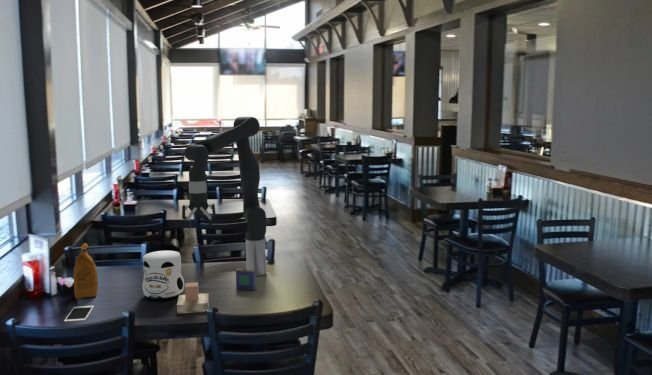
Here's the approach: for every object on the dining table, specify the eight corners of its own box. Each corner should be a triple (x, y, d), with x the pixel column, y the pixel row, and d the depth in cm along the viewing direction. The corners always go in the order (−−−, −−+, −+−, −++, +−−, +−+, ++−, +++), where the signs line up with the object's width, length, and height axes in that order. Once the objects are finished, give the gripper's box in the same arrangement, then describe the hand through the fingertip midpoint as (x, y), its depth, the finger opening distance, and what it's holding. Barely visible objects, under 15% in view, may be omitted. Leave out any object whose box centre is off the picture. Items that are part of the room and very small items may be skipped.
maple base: (208, 302, 243) (208, 293, 242) (208, 312, 231) (207, 303, 230) (179, 304, 241) (178, 295, 240) (177, 314, 229) (176, 305, 228)
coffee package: (101, 289, 259) (97, 241, 256) (97, 298, 247) (94, 248, 244) (77, 291, 257) (73, 242, 253) (72, 300, 245) (68, 249, 241)
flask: (256, 289, 257) (256, 265, 255) (254, 291, 254) (253, 267, 253) (237, 287, 260) (236, 264, 258) (234, 289, 257) (233, 266, 255)
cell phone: (94, 306, 239) (94, 305, 238) (85, 321, 223) (85, 319, 223) (74, 308, 237) (74, 306, 237) (63, 322, 222) (63, 321, 221)
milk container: (147, 305, 238) (144, 262, 236) (139, 293, 254) (137, 253, 251) (189, 298, 246) (187, 257, 244) (179, 286, 261) (177, 248, 259)
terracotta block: (198, 296, 238) (197, 282, 237) (198, 300, 233) (197, 286, 232) (186, 297, 237) (185, 283, 236) (185, 301, 232) (184, 287, 231)
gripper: (214, 189, 255) (216, 225, 257) (181, 190, 252) (183, 226, 255) (214, 191, 247) (216, 229, 250) (180, 193, 245) (182, 230, 247)
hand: (199, 227), depth 252 cm, fingers open, 8 cm apart
